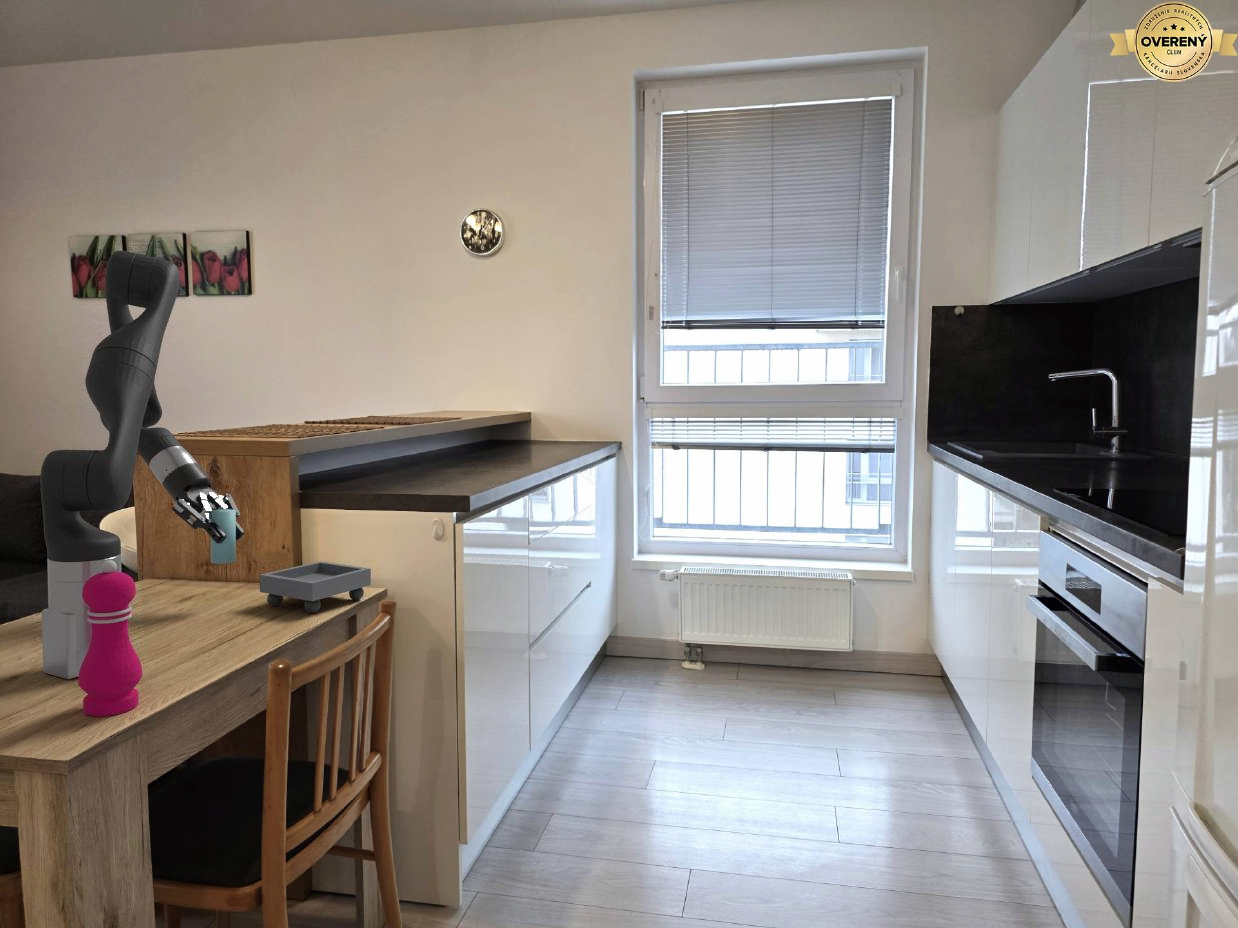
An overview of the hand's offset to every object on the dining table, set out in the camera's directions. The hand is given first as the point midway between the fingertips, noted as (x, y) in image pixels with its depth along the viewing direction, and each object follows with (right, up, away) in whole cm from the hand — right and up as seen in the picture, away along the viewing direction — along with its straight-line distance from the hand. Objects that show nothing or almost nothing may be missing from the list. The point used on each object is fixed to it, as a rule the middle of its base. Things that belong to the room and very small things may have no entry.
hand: (231, 538), depth 155 cm
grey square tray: (+14, -14, +8) cm, 21 cm away
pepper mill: (+8, -18, -49) cm, 53 cm away
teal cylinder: (-2, -5, +1) cm, 5 cm away
